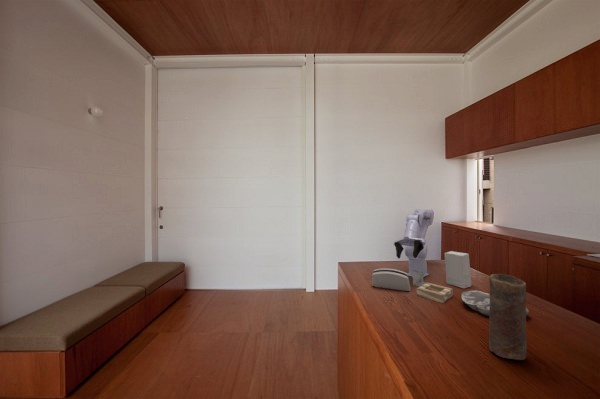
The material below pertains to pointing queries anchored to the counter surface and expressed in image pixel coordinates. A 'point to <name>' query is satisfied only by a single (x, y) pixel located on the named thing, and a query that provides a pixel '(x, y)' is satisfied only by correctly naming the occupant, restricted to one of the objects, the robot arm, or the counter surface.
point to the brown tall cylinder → (507, 317)
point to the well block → (435, 292)
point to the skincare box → (457, 269)
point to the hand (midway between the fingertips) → (406, 257)
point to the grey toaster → (391, 279)
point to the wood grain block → (418, 278)
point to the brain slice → (479, 301)
